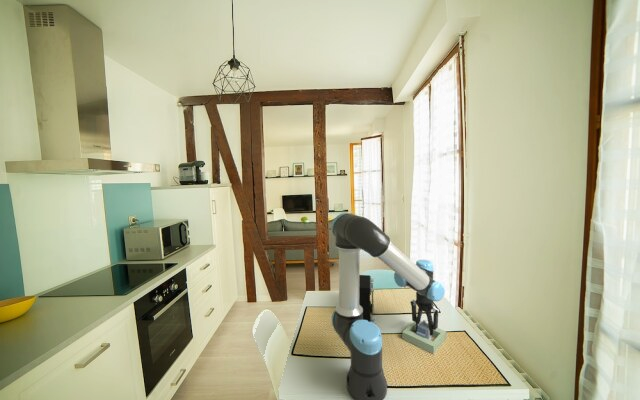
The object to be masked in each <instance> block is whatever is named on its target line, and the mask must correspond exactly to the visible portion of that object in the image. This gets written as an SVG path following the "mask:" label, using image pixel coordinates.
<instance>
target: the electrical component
mask: <svg viewBox="0 0 640 400" xmlns="http://www.w3.org/2000/svg"><path fill="white" fill-rule="evenodd" d="M374 282H375V281H374V278H373V277H372V276H371V275H370V274H369V275H366V274H359V305H360V306H361V307H362V308H363V320H368V322H373V321H375V316H373V315H374V308H375V307H374V305H375V304H374V292H375V289H374Z"/></svg>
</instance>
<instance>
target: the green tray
mask: <svg viewBox="0 0 640 400" xmlns="http://www.w3.org/2000/svg"><path fill="white" fill-rule="evenodd" d="M422 321H423V320H422ZM422 321H421V320H420V322H422ZM415 331H418V330H417V329H416V322H415V321H412V322H411V323H410V324H409V325H408V326H407V327H405V329H403V331H402V334H401V335H402V336H401V337H402V340H404V341H406V342H409V343H410V344H412V345H415V346H416V347H418V348H420V349H423V350H424V351H426V352H428V353H430V354H433V355H434V354H435V353H436V352H437V351H438V349H440V347H441V346H442V344H443V343H444V342H445V341H446V340H447V331H446V330H444V329H441V328H438V327H437V329H436V330H434V329H433V335H432V337H431V338H434V340H432V339H431V340H429V339H427V338H425V337H422V336H420V335H418V334H416V332H415Z"/></svg>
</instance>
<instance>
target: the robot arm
mask: <svg viewBox="0 0 640 400" xmlns="http://www.w3.org/2000/svg"><path fill="white" fill-rule="evenodd" d="M330 230H331V232H332V234H333V236H334V237H335V238H334V239H335V248H337V249H338V276H339V277H338V304H336V306H335V310H334V311H333V313H332V315H331V325H332V327H333V330H334V331H335V333H336V335H338V336H339V338H340V339H341V341H342V342H343V343H344V345H345V346H346V348H347V349H348V350H349V353H350V367H349V370H348V371H347V375H346V390H347V392H348V393H349V396H351V398H352V399H353V400H384V399H385V398H386V396H387V393H388V384H387V383H388V382H387V379H386V377H385V374H384V372H383V371H384V370H383V337H382V332H381V330H380V328H379V326H377V325H376V324H375V323H374V322H373V321H371V322H368V320H363V308H362V307H361V306H360V305H359V275H360V264H361V263H360V262H361V261H360V260H361V259H360V256H361V255H360V252H361V250H362V251H364V252H365V253H367V254H369V255H370V256H371V257H373V258H378V259H379V260H380V261H381V262H383V263H384V264H385V265H386V266H387V267H389V268H390V269H391V270H393V272H394V274H393V279H394V283H395V284H396V285H397V286H398V287H399V288H400V287H401V288H404V287H405V288H406V287H408V288H410V289H412V290H413V291H416V292H415V299H412V300H411V301H410V305H411V319H412V320H411V321H412V322H414V321H415V322H416V329H417V330H416V331H418V325H419V324H420V323H421V322H420V321H421V320H422V315H423V312H424V313H425V315H426V318H427V319H426V321H428V325H429V328H428V339H429V340H431V341H432V337H431V336H432V335H433V329H434V330H436V329H437V328H438V327H439V313H440V311H441V310H440V308H436V307H435V305H434V302H440V301H441V300H442V299H443V298H444V296H445V293H446V289H445V287H444V285H443V284H441V283H440V282H439V281H436V280H435V279H434V264H433V262H432V261H431V260H427V259H418V260H417V261H415V262H414V261H412V260H411V259H410V258H409V257H408V256H406V254H405V253H404V252H403V251H401V250H400V249H399V248H398V247H397V246H396V245H394V244H393V243H392V241H391V238H390V236H388V235H387V234H386V233H385V232H384V231H383V230H382V229H381V228H380V227H379V226H378V225H376V223H374V222H373V221H372V220H370V219H369V218H367V217H364V216H361V215H357V214H354V213H351V212H350V213H348V212H344V213H343V212H342V213H340V214H337V216H336V217H334V219H333V221H332V223H331V228H330ZM417 307H418V308H417ZM432 310H433V312H432ZM432 313H433V316H432Z"/></svg>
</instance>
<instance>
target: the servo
mask: <svg viewBox="0 0 640 400" xmlns="http://www.w3.org/2000/svg"><path fill="white" fill-rule="evenodd" d="M428 328H429V325H428V320H427V319H424V320H422V322H421V323H420V324H419V325H418V330H416V332H415V333H416V334H418V335H420V336H422V337H425V338H427V339H428ZM431 338H433V337H432V336H431Z"/></svg>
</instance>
